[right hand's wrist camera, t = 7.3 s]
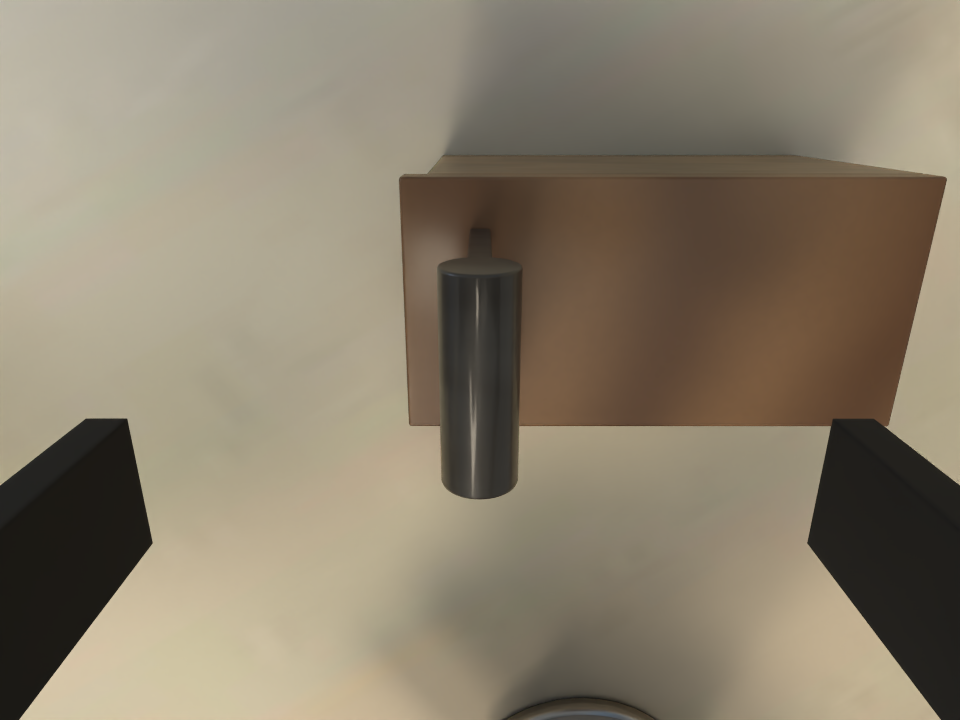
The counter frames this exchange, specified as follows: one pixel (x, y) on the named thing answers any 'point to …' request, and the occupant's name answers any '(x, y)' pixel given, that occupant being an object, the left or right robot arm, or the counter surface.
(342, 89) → the counter surface
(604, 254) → the brown handled panel
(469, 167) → the chest
